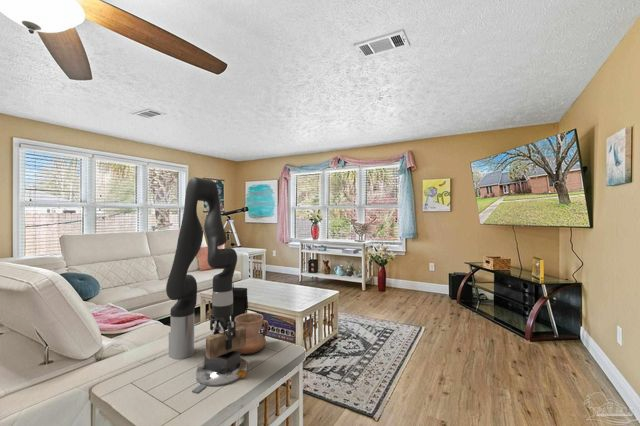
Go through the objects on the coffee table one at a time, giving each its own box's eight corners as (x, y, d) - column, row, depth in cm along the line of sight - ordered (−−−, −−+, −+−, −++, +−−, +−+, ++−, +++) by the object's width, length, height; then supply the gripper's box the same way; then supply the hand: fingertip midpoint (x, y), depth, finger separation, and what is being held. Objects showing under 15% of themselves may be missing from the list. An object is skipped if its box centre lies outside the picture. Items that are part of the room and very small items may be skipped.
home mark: (192, 392, 99) (192, 390, 99) (201, 385, 103) (201, 384, 103) (197, 393, 98) (197, 392, 98) (206, 387, 102) (206, 385, 102)
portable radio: (250, 332, 149) (250, 282, 149) (244, 337, 143) (244, 285, 143) (235, 331, 151) (235, 281, 151) (229, 336, 145) (229, 284, 145)
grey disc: (185, 378, 107) (185, 358, 107) (221, 356, 123) (221, 339, 124) (226, 392, 99) (226, 370, 99) (259, 367, 115) (260, 348, 115)
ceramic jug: (236, 362, 120) (236, 326, 120) (224, 349, 131) (224, 316, 131) (276, 350, 130) (276, 317, 131) (261, 338, 142) (261, 308, 142)
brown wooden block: (241, 326, 120) (205, 337, 108) (245, 327, 118) (209, 339, 106) (241, 343, 119) (205, 356, 108) (245, 345, 117) (209, 359, 106)
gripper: (242, 303, 110) (242, 348, 110) (221, 296, 119) (221, 337, 119) (223, 308, 104) (223, 355, 104) (203, 300, 114) (203, 343, 113)
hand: (222, 345), depth 111 cm, fingers open, 8 cm apart
